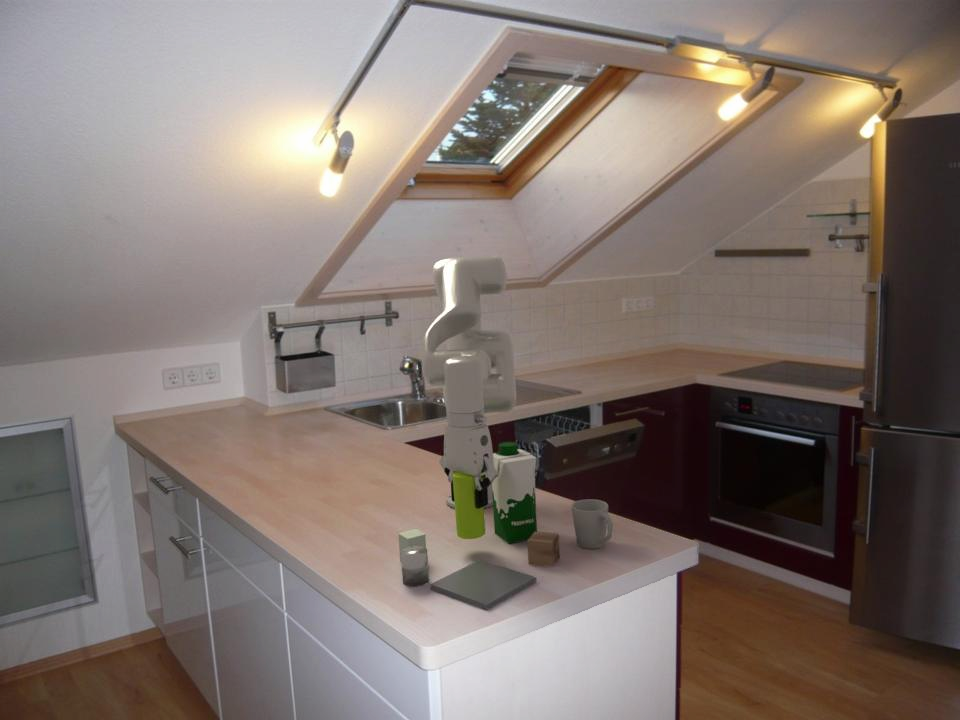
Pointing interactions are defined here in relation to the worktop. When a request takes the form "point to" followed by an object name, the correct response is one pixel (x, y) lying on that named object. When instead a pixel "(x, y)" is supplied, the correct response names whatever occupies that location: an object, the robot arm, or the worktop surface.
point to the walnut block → (543, 548)
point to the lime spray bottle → (467, 507)
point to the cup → (591, 523)
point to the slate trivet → (483, 584)
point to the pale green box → (411, 539)
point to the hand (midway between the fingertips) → (469, 502)
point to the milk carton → (514, 493)
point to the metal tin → (414, 566)
